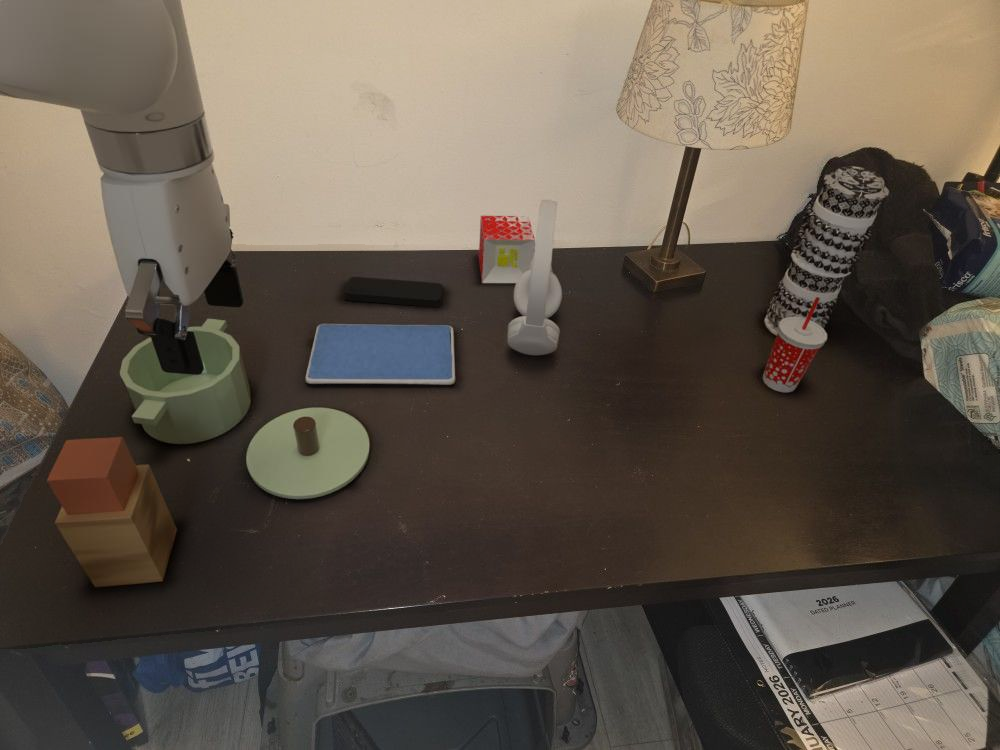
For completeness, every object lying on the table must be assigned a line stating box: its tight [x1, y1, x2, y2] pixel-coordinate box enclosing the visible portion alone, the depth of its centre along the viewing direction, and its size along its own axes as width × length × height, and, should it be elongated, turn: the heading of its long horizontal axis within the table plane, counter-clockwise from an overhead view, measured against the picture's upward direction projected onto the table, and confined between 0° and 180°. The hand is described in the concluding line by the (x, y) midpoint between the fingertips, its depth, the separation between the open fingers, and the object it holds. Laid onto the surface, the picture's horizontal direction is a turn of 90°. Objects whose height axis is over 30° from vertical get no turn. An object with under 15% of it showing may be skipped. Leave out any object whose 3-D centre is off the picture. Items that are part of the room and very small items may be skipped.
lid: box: [245, 407, 371, 500], centre depth 73 cm, size 14×14×5 cm
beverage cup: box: [762, 297, 828, 393], centre depth 86 cm, size 6×6×14 cm
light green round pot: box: [119, 318, 252, 445], centre depth 77 cm, size 13×18×8 cm
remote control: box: [343, 276, 445, 308], centre depth 100 cm, size 5×2×15 cm
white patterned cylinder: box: [763, 165, 890, 336], centre depth 93 cm, size 9×9×25 cm
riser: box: [54, 464, 178, 588], centre depth 60 cm, size 6×6×10 cm
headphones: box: [506, 199, 563, 356], centre depth 88 cm, size 7×18×20 cm, turn 174°
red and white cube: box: [478, 215, 536, 284], centre depth 106 cm, size 8×8×8 cm
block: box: [46, 436, 138, 515], centre depth 55 cm, size 4×4×4 cm
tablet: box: [305, 323, 456, 386], centre depth 88 cm, size 19×13×1 cm, turn 94°
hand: (206, 336), depth 56 cm, fingers open, 9 cm apart
